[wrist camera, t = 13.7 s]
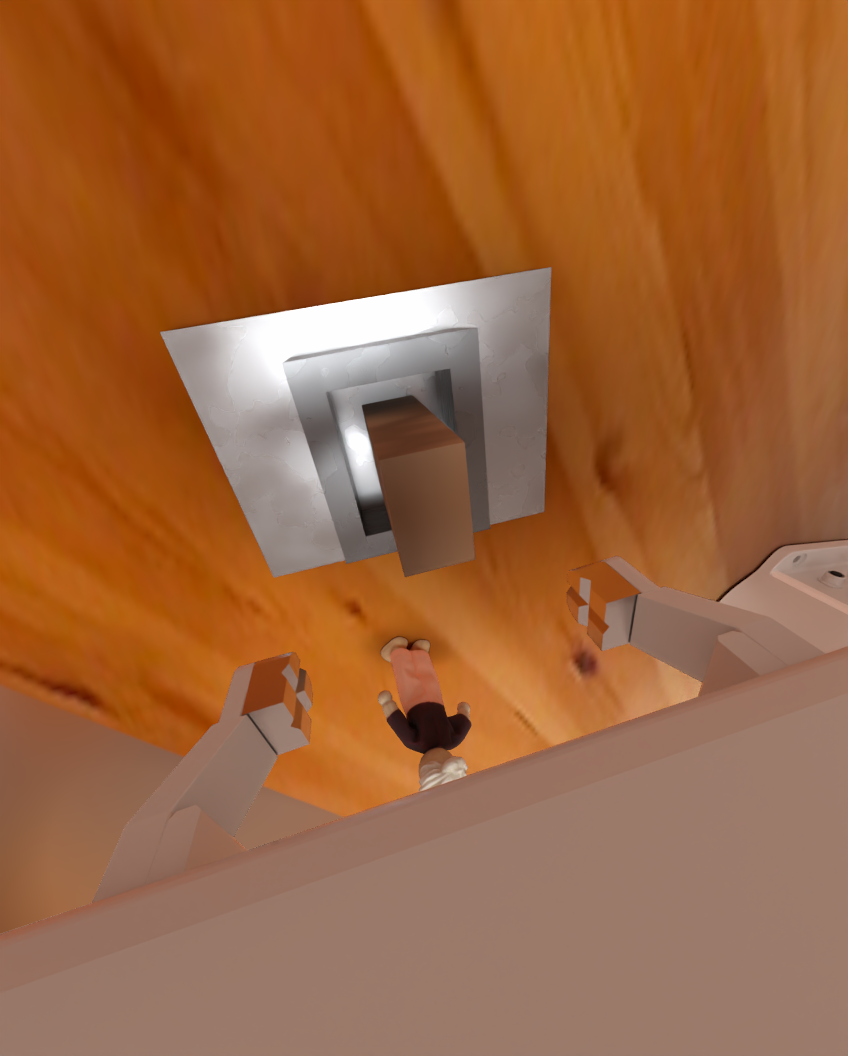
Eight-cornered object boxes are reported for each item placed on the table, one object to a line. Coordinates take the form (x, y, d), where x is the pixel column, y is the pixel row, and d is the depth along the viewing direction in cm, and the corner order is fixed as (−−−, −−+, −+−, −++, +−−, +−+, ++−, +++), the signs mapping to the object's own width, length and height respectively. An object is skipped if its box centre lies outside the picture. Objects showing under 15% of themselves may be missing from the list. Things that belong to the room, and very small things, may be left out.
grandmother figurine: (366, 665, 32) (381, 834, 22) (373, 633, 31) (393, 800, 20) (446, 664, 35) (495, 818, 24) (456, 635, 33) (514, 785, 22)
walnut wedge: (412, 394, 21) (464, 442, 12) (424, 474, 23) (475, 559, 15) (361, 405, 20) (378, 460, 12) (379, 484, 23) (404, 577, 14)
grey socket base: (540, 270, 20) (590, 256, 16) (536, 504, 28) (570, 534, 24) (169, 331, 18) (122, 333, 14) (276, 567, 26) (265, 611, 22)
